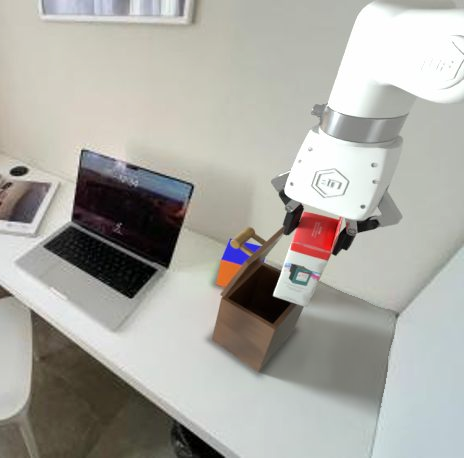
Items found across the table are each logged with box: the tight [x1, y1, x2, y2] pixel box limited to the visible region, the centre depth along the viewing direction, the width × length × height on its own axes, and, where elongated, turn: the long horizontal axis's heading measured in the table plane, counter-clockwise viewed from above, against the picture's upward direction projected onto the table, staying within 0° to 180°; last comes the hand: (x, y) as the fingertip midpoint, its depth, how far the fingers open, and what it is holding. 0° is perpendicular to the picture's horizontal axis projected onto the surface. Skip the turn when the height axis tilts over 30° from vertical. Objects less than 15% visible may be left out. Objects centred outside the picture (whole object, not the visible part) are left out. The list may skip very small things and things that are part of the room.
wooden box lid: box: [219, 225, 286, 298], centre depth 64 cm, size 10×14×5 cm
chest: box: [211, 261, 305, 373], centre depth 68 cm, size 10×14×13 cm
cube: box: [215, 237, 266, 288], centre depth 81 cm, size 8×8×8 cm
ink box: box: [273, 211, 344, 308], centre depth 54 cm, size 8×5×15 cm, turn 144°
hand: (313, 239), depth 53 cm, fingers closed on ink box, 5 cm apart
